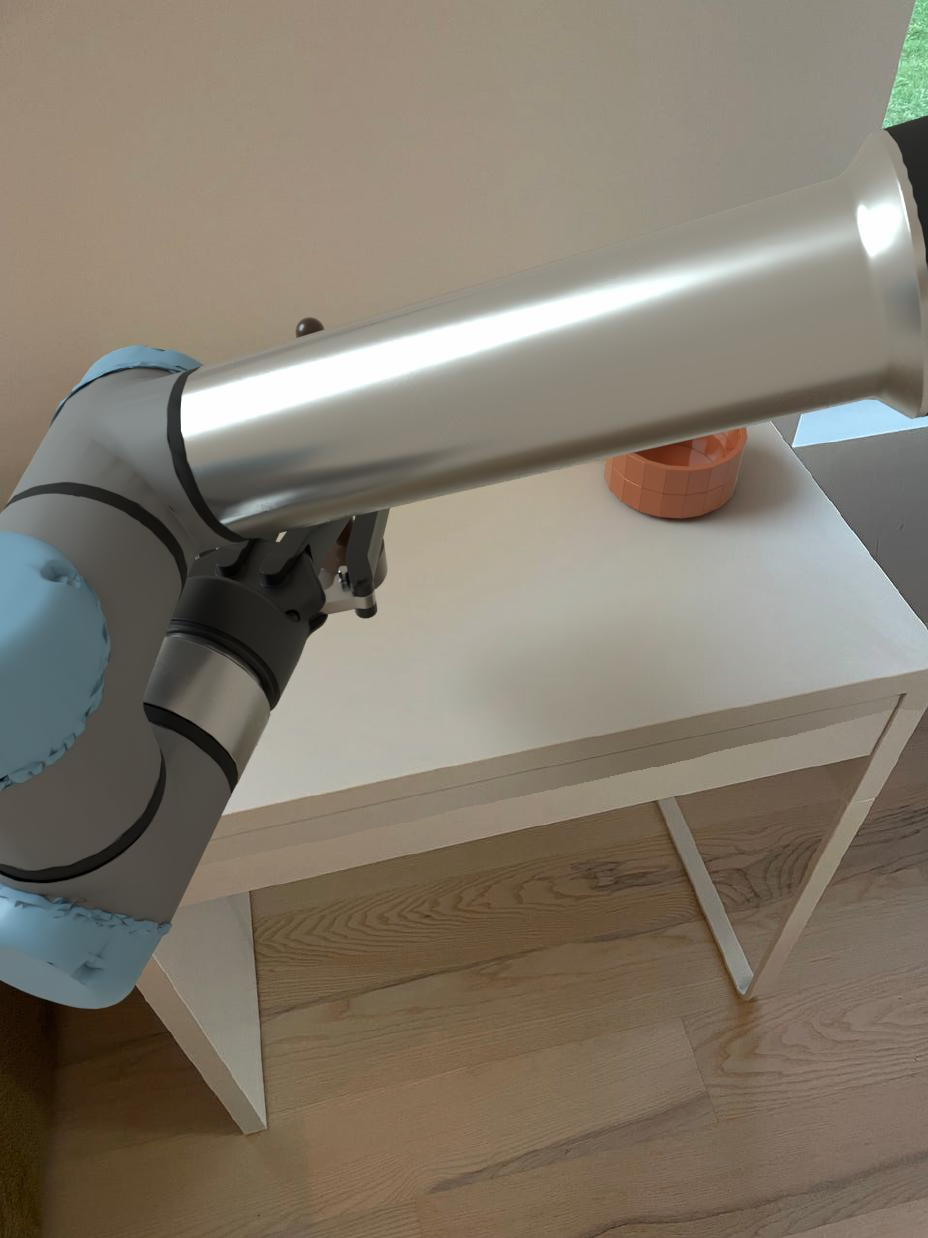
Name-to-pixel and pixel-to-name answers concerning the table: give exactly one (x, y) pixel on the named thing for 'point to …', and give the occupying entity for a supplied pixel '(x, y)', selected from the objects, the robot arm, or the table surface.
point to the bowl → (679, 475)
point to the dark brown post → (338, 550)
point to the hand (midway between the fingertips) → (360, 403)
